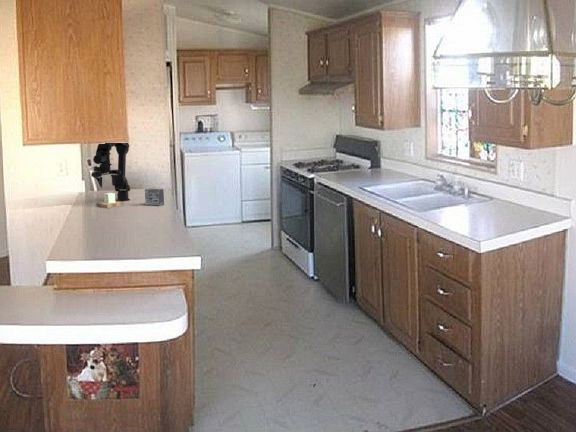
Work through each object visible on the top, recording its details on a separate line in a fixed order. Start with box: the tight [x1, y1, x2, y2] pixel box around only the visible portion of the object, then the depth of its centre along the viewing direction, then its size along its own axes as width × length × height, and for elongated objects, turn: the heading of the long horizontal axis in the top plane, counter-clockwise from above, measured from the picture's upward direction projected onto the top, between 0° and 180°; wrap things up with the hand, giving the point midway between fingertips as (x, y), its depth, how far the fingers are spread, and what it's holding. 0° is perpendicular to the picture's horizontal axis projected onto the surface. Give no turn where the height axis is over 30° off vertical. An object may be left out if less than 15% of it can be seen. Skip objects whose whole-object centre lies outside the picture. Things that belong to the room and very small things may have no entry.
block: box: [103, 192, 116, 204], centre depth 435 cm, size 5×5×6 cm
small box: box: [144, 188, 165, 207], centre depth 434 cm, size 11×6×10 cm, turn 71°
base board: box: [95, 200, 124, 209], centre depth 435 cm, size 12×12×2 cm
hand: (107, 186), depth 434 cm, fingers open, 9 cm apart
